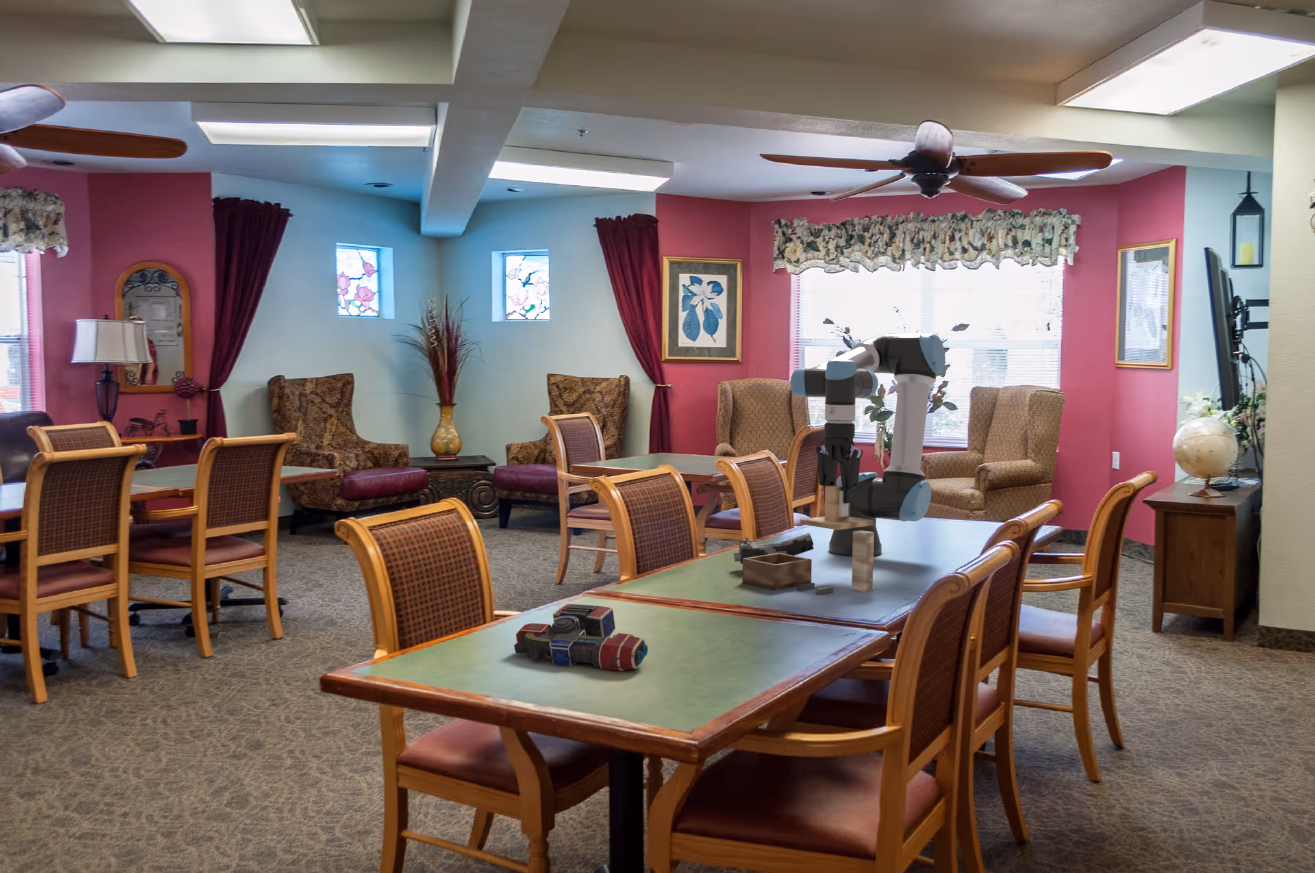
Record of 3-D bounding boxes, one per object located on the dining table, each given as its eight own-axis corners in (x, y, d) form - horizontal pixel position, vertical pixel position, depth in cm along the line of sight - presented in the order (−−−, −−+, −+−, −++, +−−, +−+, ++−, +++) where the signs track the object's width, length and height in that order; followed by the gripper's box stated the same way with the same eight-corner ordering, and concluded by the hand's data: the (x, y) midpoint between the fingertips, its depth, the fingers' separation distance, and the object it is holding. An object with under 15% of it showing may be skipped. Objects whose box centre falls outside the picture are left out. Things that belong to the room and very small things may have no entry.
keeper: (801, 585, 242) (801, 580, 242) (833, 592, 235) (833, 587, 235) (787, 587, 239) (787, 582, 239) (819, 594, 231) (819, 589, 231)
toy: (814, 574, 256) (815, 535, 255) (734, 573, 256) (735, 534, 256) (810, 568, 263) (811, 531, 262) (733, 567, 263) (733, 530, 263)
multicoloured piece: (632, 650, 167) (670, 598, 184) (500, 639, 175) (549, 590, 193) (637, 692, 169) (675, 636, 187) (506, 679, 178) (554, 626, 196)
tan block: (860, 587, 240) (861, 530, 239) (872, 590, 237) (873, 532, 237) (851, 589, 238) (852, 531, 237) (863, 592, 235) (864, 533, 234)
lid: (836, 519, 258) (837, 482, 257) (873, 525, 249) (874, 486, 248) (800, 524, 249) (801, 485, 248) (837, 529, 240) (838, 490, 239)
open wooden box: (778, 576, 253) (778, 552, 252) (811, 583, 244) (811, 559, 244) (742, 582, 244) (742, 558, 244) (775, 590, 236) (775, 565, 236)
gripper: (805, 421, 251) (803, 512, 252) (855, 423, 239) (853, 520, 240) (824, 420, 256) (822, 510, 257) (875, 423, 244) (872, 517, 245)
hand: (837, 515), depth 249 cm, fingers closed on lid, 3 cm apart
